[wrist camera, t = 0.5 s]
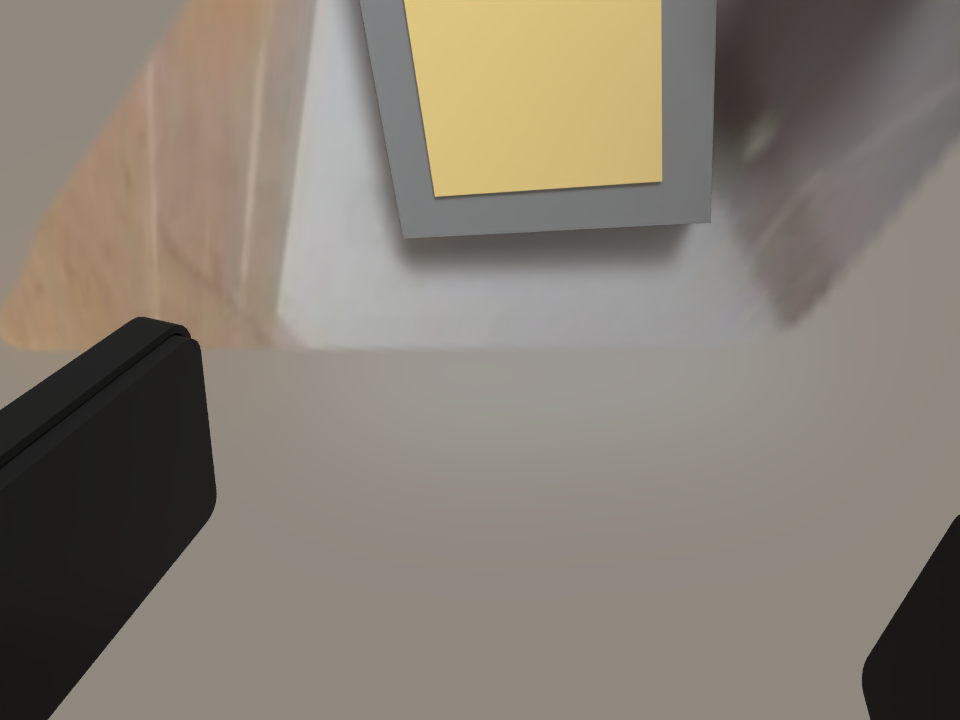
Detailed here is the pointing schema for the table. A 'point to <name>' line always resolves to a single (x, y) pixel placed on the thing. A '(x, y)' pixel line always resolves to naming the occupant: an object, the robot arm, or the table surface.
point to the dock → (545, 112)
